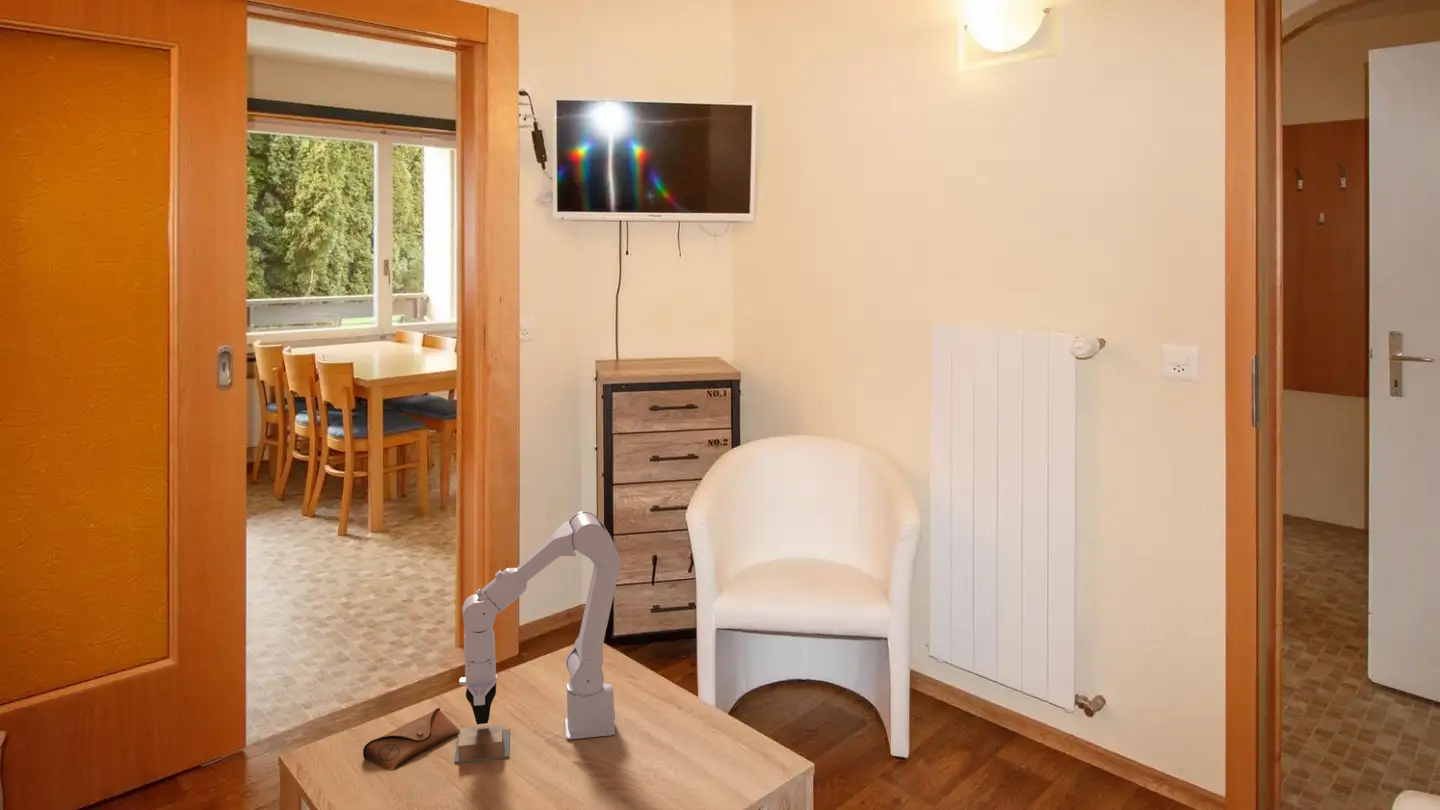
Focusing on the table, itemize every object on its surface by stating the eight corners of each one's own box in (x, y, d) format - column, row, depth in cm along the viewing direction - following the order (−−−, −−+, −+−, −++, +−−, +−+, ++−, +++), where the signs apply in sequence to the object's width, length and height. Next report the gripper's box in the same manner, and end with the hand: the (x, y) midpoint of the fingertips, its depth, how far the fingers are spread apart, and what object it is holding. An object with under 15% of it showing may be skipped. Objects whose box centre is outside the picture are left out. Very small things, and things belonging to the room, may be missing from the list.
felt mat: (509, 730, 183) (509, 729, 183) (509, 757, 174) (508, 755, 174) (458, 735, 181) (458, 733, 181) (454, 763, 172) (454, 761, 171)
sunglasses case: (391, 772, 168) (378, 738, 169) (371, 780, 172) (358, 746, 173) (467, 730, 183) (454, 699, 184) (447, 738, 187) (434, 707, 188)
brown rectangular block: (502, 724, 179) (501, 741, 173) (503, 738, 180) (502, 756, 173) (460, 728, 177) (458, 746, 171) (460, 742, 178) (458, 760, 172)
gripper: (461, 642, 182) (463, 706, 184) (455, 675, 168) (458, 743, 170) (497, 639, 183) (499, 702, 186) (495, 672, 169) (497, 739, 172)
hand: (482, 722), depth 178 cm, fingers closed
